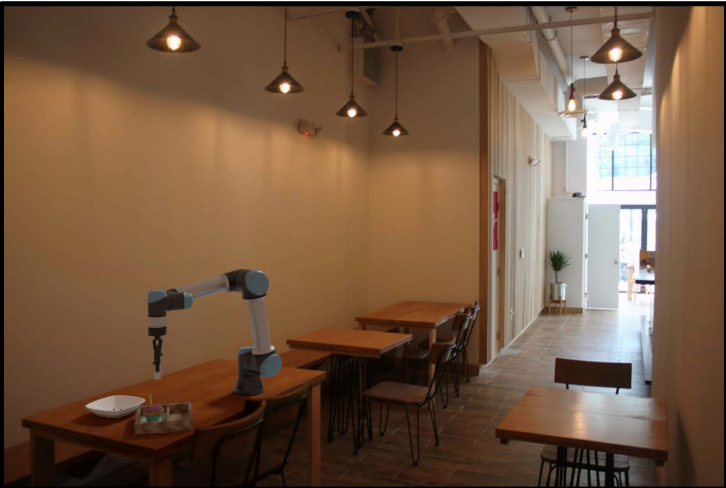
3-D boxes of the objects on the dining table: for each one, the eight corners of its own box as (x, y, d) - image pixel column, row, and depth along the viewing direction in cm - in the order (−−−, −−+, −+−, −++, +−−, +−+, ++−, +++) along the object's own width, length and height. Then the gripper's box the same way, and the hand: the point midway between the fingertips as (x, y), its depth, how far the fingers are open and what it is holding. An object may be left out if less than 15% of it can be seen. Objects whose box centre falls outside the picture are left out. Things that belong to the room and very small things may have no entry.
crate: (190, 412, 265) (190, 402, 264) (192, 430, 241) (192, 419, 241) (138, 417, 258) (138, 406, 258) (134, 436, 234) (134, 424, 234)
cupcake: (138, 422, 246) (138, 394, 246) (152, 417, 254) (152, 389, 254) (154, 425, 243) (154, 397, 242) (168, 419, 251) (168, 392, 250)
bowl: (78, 418, 256) (78, 406, 256) (115, 404, 276) (115, 393, 276) (116, 424, 248) (116, 412, 248) (151, 410, 268) (151, 398, 268)
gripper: (149, 321, 260) (149, 369, 261) (146, 331, 236) (147, 383, 237) (166, 321, 262) (167, 367, 263) (166, 330, 238) (166, 381, 239)
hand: (157, 375), depth 250 cm, fingers open, 13 cm apart
